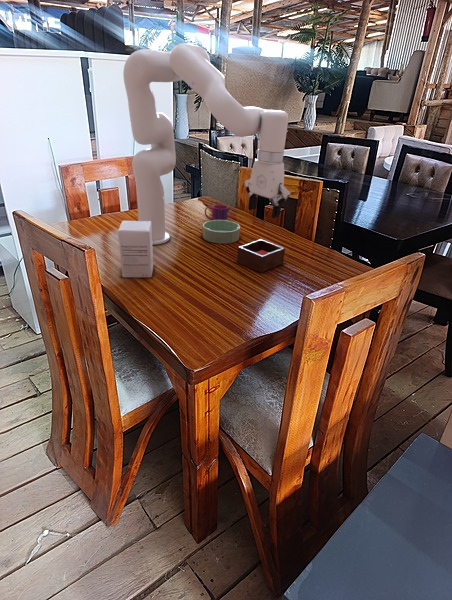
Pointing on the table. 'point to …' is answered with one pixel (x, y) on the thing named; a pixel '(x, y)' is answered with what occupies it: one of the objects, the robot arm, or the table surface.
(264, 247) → the box
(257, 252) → the red small block
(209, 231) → the bowl
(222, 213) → the mug
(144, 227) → the white product box
